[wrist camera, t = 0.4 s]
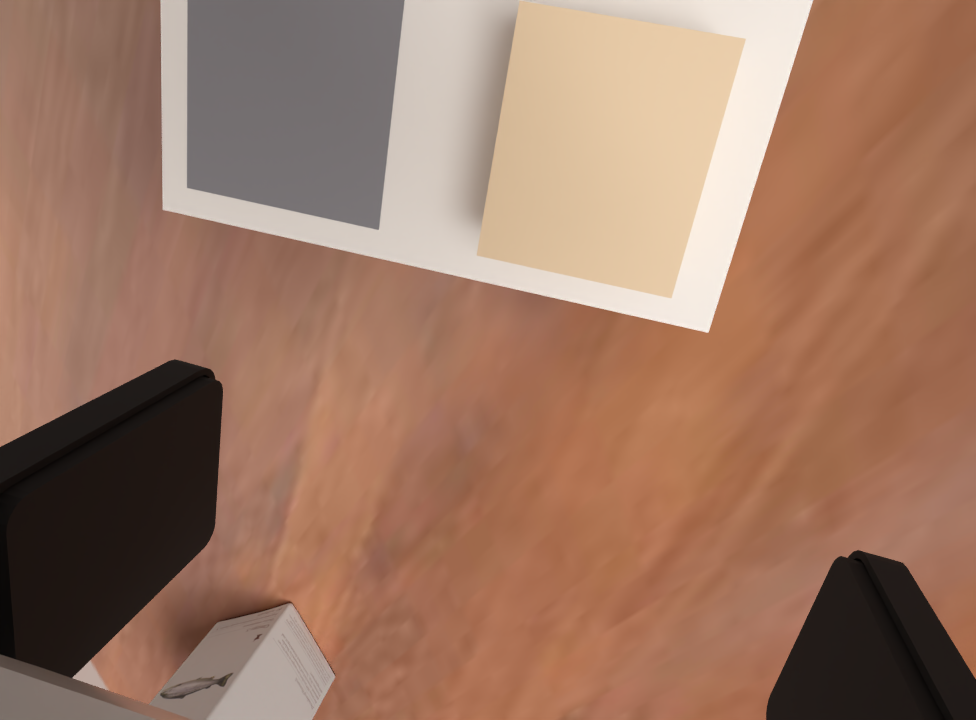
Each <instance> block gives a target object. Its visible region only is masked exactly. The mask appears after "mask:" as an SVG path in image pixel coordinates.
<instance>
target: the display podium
mask: <svg viewBox="0 0 976 720" xmlns="http://www.w3.org/2000/svg"><path fill="white" fill-rule="evenodd" d="M519 1H525V2H531V3H537V4H543V5H549V6H555V7H561V8H567V9H573V10H579V11H584V12H590V13H596V14H602V15H608V16H614V17H620V18H626V19H632V20H638V21H644V22H650V23H655V24H661V25H667V26H673V27H679V28H685V29H691V30H697V31H703V32H709V33H715V34H721V35H726V36H732V37H738V38H744V39H746V40H745V44H744V47H743V51H742V54H741V58H740V61H739V65H738V68H737V72H736V75H735V79H734V82H733V86H732V89H731V93H730V96H729V100H728V103H727V107H726V110H725V114H724V117H723V121H722V124H721V128H720V131H719V135H718V138H717V141H716V145H715V148H714V152H713V155H712V159H711V162H710V166H709V169H708V173H707V176H706V180H705V183H704V187H703V190H702V194H701V197H700V201H699V204H698V208H697V211H696V215H695V218H694V222H693V225H692V229H691V232H690V236H689V239H688V243H687V246H686V249H685V253H684V256H683V260H682V263H681V267H680V270H679V274H678V277H677V281H676V284H675V288H674V291H673V295H672V298H667V297H663V296H658V295H653V294H649V293H644V292H640V291H635V290H631V289H626V288H622V287H617V286H613V285H608V284H604V283H599V282H594V281H590V280H585V279H581V278H576V277H572V276H567V275H563V274H558V273H554V272H549V271H545V270H540V269H536V268H531V267H526V266H522V265H517V264H513V263H508V262H504V261H499V260H495V259H490V258H486V257H481V256H477V250H478V244H479V238H480V232H481V226H482V220H483V214H484V208H485V203H486V197H487V191H488V185H489V179H490V173H491V167H492V161H493V155H494V149H495V143H496V137H497V131H498V125H499V120H500V114H501V108H502V102H503V96H504V90H505V84H506V78H507V72H508V66H509V60H510V54H511V48H512V43H513V37H514V31H515V25H516V19H517V13H518V7H519ZM812 2H813V0H161V87H162V185H163V210H166V211H171V212H175V213H180V214H184V215H189V216H193V217H197V218H202V219H206V220H211V221H215V222H220V223H224V224H228V225H233V226H237V227H242V228H246V229H251V230H255V231H260V232H264V233H268V234H273V235H277V236H282V237H286V238H291V239H295V240H299V241H304V242H308V243H313V244H317V245H322V246H326V247H331V248H335V249H339V250H344V251H348V252H353V253H357V254H362V255H366V256H370V257H375V258H379V259H384V260H388V261H393V262H397V263H402V264H406V265H410V266H415V267H419V268H424V269H428V270H433V271H437V272H441V273H446V274H450V275H455V276H459V277H464V278H468V279H473V280H477V281H481V282H486V283H490V284H495V285H499V286H504V287H508V288H512V289H517V290H521V291H526V292H530V293H535V294H539V295H543V296H548V297H552V298H557V299H561V300H566V301H570V302H575V303H579V304H583V305H588V306H592V307H597V308H601V309H606V310H610V311H614V312H619V313H623V314H628V315H632V316H637V317H641V318H646V319H650V320H654V321H659V322H663V323H668V324H672V325H677V326H681V327H685V328H690V329H694V330H699V331H703V332H709V329H710V326H711V323H712V320H713V316H714V313H715V310H716V307H717V304H718V301H719V297H720V294H721V291H722V288H723V285H724V281H725V278H726V275H727V272H728V269H729V266H730V262H731V259H732V256H733V253H734V250H735V247H736V243H737V240H738V237H739V234H740V231H741V227H742V224H743V221H744V218H745V215H746V212H747V208H748V205H749V202H750V199H751V196H752V193H753V189H754V186H755V183H756V180H757V177H758V173H759V170H760V167H761V164H762V161H763V158H764V154H765V151H766V148H767V145H768V142H769V139H770V135H771V132H772V129H773V126H774V123H775V120H776V116H777V113H778V110H779V107H780V104H781V100H782V97H783V94H784V91H785V88H786V85H787V81H788V78H789V75H790V72H791V69H792V66H793V62H794V59H795V56H796V53H797V50H798V46H799V43H800V40H801V37H802V34H803V31H804V27H805V24H806V21H807V18H808V15H809V12H810V8H811V5H812Z"/></svg>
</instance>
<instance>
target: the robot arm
mask: <svg viewBox="0 0 976 720" xmlns="http://www.w3.org/2000/svg"><path fill="white" fill-rule="evenodd" d="M222 399H223V387H222V384H221V383H220V382H219V381H217V380H215V376H214V373H213V372H212V371H211V369H208V368H204V367H201V366H197V365H194V364H190V363H187V362H183V361H179V360H171V361H168V362H166V363H164V364H162V365H161V366H159V367H157V368H155V369H153V370H151V371H149V372H147V373H145V374H143V375H141V376H139V377H137V378H135V379H133V380H131V381H129V382H127V383H125V384H123V385H121V386H119V387H117V388H115V389H113V390H111V391H109V392H107V393H106V394H104V395H102V396H100V397H98V398H96V399H94V400H92V401H90V402H88V403H86V404H84V405H82V406H80V407H78V408H76V409H74V410H72V411H70V412H68V413H66V414H64V415H62V416H60V417H58V418H56V419H54V420H53V421H51V422H49V423H47V424H45V425H43V426H41V427H39V428H37V429H35V430H33V431H31V432H29V433H27V434H25V435H23V436H21V437H19V438H17V439H15V440H13V441H11V442H9V443H7V444H5V445H3V446H1V447H0V720H192V719H190V718H187V717H184V716H181V715H178V714H175V713H172V712H169V711H166V710H163V709H160V708H157V707H154V706H152V705H149V704H146V703H143V702H140V701H137V700H134V699H131V698H128V697H125V696H122V695H119V694H117V693H114V692H111V691H108V690H105V689H102V688H99V687H96V686H93V685H90V684H87V683H84V682H81V681H78V680H76V679H73V678H72V677H73V676H74V675H75V674H76V673H77V672H79V671H80V670H81V669H82V668H83V667H84V666H85V665H86V664H87V663H88V662H89V661H90V660H91V659H92V658H93V657H94V656H95V655H96V654H97V653H98V652H99V651H100V650H101V649H102V648H103V647H104V646H105V645H106V644H107V643H108V642H109V641H110V640H111V639H112V638H113V637H114V636H115V635H116V634H117V633H118V632H119V631H120V630H121V629H122V628H123V627H124V626H125V625H126V624H127V623H128V622H129V621H130V620H131V619H132V618H133V617H134V616H135V615H136V614H137V613H138V612H139V611H140V610H141V609H143V608H144V607H145V606H146V605H147V604H148V603H149V602H150V601H151V600H152V599H153V598H154V597H155V596H156V595H157V594H158V593H159V592H160V591H161V590H162V589H163V588H164V587H165V586H166V585H167V584H168V583H169V582H170V581H171V580H172V579H173V578H174V577H175V576H176V575H177V574H178V573H179V572H180V571H181V570H182V569H183V568H184V567H185V566H186V565H187V564H188V563H189V562H190V561H191V560H192V559H193V558H194V557H195V556H196V555H197V554H198V553H199V552H200V551H201V550H202V549H203V548H204V547H205V546H206V545H207V543H208V542H209V540H210V538H211V536H212V534H213V531H214V527H215V518H216V501H217V484H218V467H219V450H220V433H221V416H222ZM766 720H976V679H975V678H974V676H973V674H972V673H971V671H970V669H969V668H968V666H967V665H966V663H965V661H964V660H963V658H962V656H961V655H960V653H959V652H958V650H957V648H956V647H955V645H954V643H953V642H952V640H951V639H950V637H949V635H948V634H947V632H946V630H945V629H944V627H943V625H942V624H941V622H940V621H939V619H938V617H937V616H936V614H935V612H934V611H933V609H932V608H931V606H930V604H929V603H928V601H927V599H926V598H925V596H924V594H923V593H922V591H921V590H920V588H919V586H918V585H917V583H916V581H915V580H914V578H913V577H912V575H911V573H910V572H909V570H908V568H907V567H906V566H905V565H904V564H903V563H901V562H898V561H895V560H891V559H888V558H884V557H880V556H877V555H873V554H870V553H866V552H863V551H859V550H858V551H854V552H853V553H852V554H851V555H850V556H849V557H848V558H846V557H842V556H840V557H838V558H837V559H836V560H835V561H834V562H833V564H832V566H831V568H830V570H829V572H828V574H827V576H826V578H825V581H824V583H823V585H822V587H821V589H820V591H819V593H818V595H817V597H816V600H815V602H814V604H813V606H812V608H811V610H810V612H809V614H808V616H807V619H806V621H805V623H804V625H803V627H802V629H801V631H800V633H799V636H798V638H797V640H796V642H795V644H794V646H793V648H792V650H791V652H790V655H789V657H788V659H787V661H786V663H785V665H784V667H783V669H782V671H781V674H780V676H779V678H778V680H777V682H776V684H775V686H774V688H773V691H772V693H771V695H770V697H769V700H768V705H767V712H766Z"/></svg>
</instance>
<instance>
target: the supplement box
mask: <svg viewBox="0 0 976 720" xmlns="http://www.w3.org/2000/svg"><path fill="white" fill-rule="evenodd" d="M334 679H335V675H334V673H333V672H332V670H331V668H330V666H329V664H328V663H327V661H326V659H325V658H324V656H323V654H322V653H321V651H320V649H319V647H318V646H317V644H316V642H315V641H314V639H313V637H312V635H311V634H310V632H309V630H308V629H307V627H306V625H305V623H304V622H303V620H302V619H301V617H300V615H299V613H298V612H297V610H296V609H295V607H294V606H293V604H292V603H288V604H285V605H282V606H279V607H276V608H273V609H269V610H266V611H262V612H259V613H255V614H250V615H246V616H242V617H238V618H234V619H230V620H225V621H220V622H217V623H216V624H215V626H214V627H213V628H212V629H211V630H210V632H209V633H208V634H207V635H206V636H205V638H204V639H203V640H202V641H201V642H200V643H199V645H198V646H197V647H196V648H195V649H194V651H193V652H192V653H191V654H190V655H189V657H188V658H187V659H186V660H185V661H184V663H183V664H182V665H181V666H180V667H179V669H178V670H177V671H176V672H175V673H174V675H173V676H172V677H171V678H170V679H169V681H168V682H167V683H166V684H165V685H164V687H163V688H162V689H161V690H160V691H159V693H158V694H157V695H156V696H155V697H154V699H153V700H152V701H151V702H150V703H149V705H152V706H154V707H157V708H160V709H163V710H166V711H169V712H172V713H175V714H178V715H181V716H184V717H187V718H190V719H192V720H312V719H313V717H314V715H315V713H316V711H317V710H318V708H319V706H320V704H321V702H322V700H323V699H324V697H325V695H326V693H327V691H328V689H329V688H330V686H331V684H332V682H333V680H334Z"/></svg>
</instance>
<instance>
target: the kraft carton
mask: <svg viewBox="0 0 976 720" xmlns="http://www.w3.org/2000/svg"><path fill="white" fill-rule="evenodd" d="M745 40H746V39H744V38H738V37H732V36H726V35H721V34H715V33H709V32H703V31H697V30H691V29H685V28H679V27H673V26H667V25H661V24H655V23H650V22H644V21H638V20H632V19H626V18H620V17H614V16H608V15H602V14H596V13H590V12H584V11H579V10H573V9H567V8H561V7H555V6H549V5H543V4H537V3H531V2H525V1H519V7H518V13H517V19H516V25H515V31H514V37H513V43H512V48H511V54H510V60H509V66H508V72H507V78H506V84H505V90H504V96H503V102H502V108H501V114H500V120H499V125H498V131H497V137H496V143H495V149H494V155H493V161H492V167H491V173H490V179H489V185H488V191H487V197H486V203H485V208H484V214H483V220H482V226H481V232H480V238H479V244H478V250H477V256H481V257H486V258H490V259H495V260H499V261H504V262H508V263H513V264H517V265H522V266H526V267H531V268H536V269H540V270H545V271H549V272H554V273H558V274H563V275H567V276H572V277H576V278H581V279H585V280H590V281H594V282H599V283H604V284H608V285H613V286H617V287H622V288H626V289H631V290H635V291H640V292H644V293H649V294H653V295H658V296H663V297H667V298H672V295H673V291H674V288H675V284H676V281H677V277H678V274H679V270H680V267H681V263H682V260H683V256H684V253H685V249H686V246H687V243H688V239H689V236H690V232H691V229H692V225H693V222H694V218H695V215H696V211H697V208H698V204H699V201H700V197H701V194H702V190H703V187H704V183H705V180H706V176H707V173H708V169H709V166H710V162H711V159H712V155H713V152H714V148H715V145H716V141H717V138H718V135H719V131H720V128H721V124H722V121H723V117H724V114H725V110H726V107H727V103H728V100H729V96H730V93H731V89H732V86H733V82H734V79H735V75H736V72H737V68H738V65H739V61H740V58H741V54H742V51H743V47H744V44H745Z"/></svg>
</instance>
